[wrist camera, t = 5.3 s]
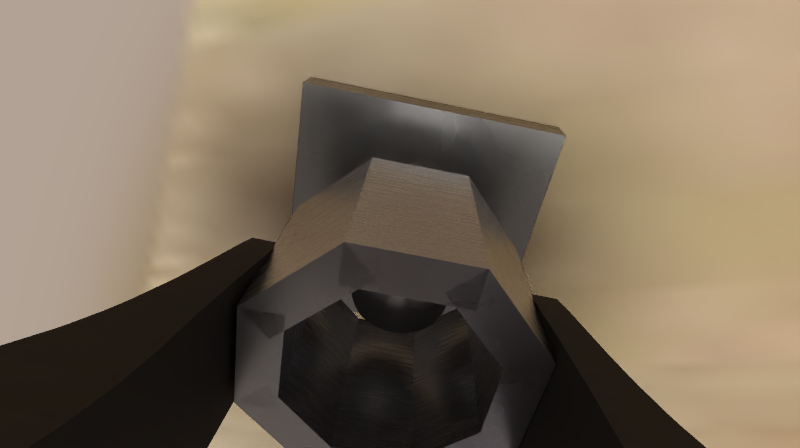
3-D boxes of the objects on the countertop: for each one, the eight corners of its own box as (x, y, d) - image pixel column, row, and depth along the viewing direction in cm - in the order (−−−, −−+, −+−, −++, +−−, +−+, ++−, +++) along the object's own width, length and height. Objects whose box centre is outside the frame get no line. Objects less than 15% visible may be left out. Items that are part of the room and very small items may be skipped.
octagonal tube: (476, 362, 13) (494, 502, 10) (286, 328, 13) (232, 457, 9) (536, 189, 11) (590, 288, 7) (303, 143, 10) (239, 221, 7)
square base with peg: (491, 323, 16) (506, 428, 12) (292, 283, 16) (244, 376, 12) (559, 127, 13) (608, 185, 9) (310, 77, 13) (254, 113, 9)
